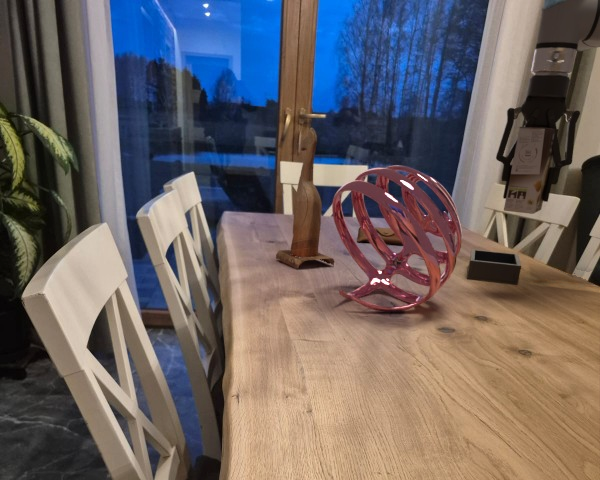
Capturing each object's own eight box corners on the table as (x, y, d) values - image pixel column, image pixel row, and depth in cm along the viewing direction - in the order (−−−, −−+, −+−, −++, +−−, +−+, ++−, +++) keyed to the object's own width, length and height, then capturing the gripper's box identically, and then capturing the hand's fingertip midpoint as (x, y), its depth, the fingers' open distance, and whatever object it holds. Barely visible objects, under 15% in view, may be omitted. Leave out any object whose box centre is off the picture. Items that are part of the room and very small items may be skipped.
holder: (514, 271, 153) (518, 253, 151) (517, 284, 140) (521, 265, 138) (468, 266, 156) (471, 249, 154) (466, 278, 143) (470, 260, 141)
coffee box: (534, 214, 117) (552, 128, 110) (502, 211, 120) (518, 126, 113) (541, 210, 125) (559, 128, 118) (511, 206, 127) (527, 127, 120)
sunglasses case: (356, 241, 177) (358, 220, 178) (356, 248, 184) (358, 228, 185) (415, 245, 176) (417, 224, 176) (412, 253, 183) (414, 233, 183)
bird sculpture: (309, 257, 156) (316, 127, 142) (335, 266, 148) (346, 129, 134) (274, 260, 151) (278, 125, 136) (299, 270, 142) (306, 127, 128)
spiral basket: (330, 217, 94) (445, 120, 98) (273, 229, 119) (367, 151, 124) (414, 346, 105) (514, 254, 109) (345, 332, 130) (429, 258, 135)
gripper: (496, 72, 110) (475, 197, 120) (610, 75, 106) (578, 205, 116) (495, 75, 117) (475, 194, 127) (602, 78, 112) (573, 201, 123)
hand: (524, 199), depth 121 cm, fingers closed on coffee box, 7 cm apart
